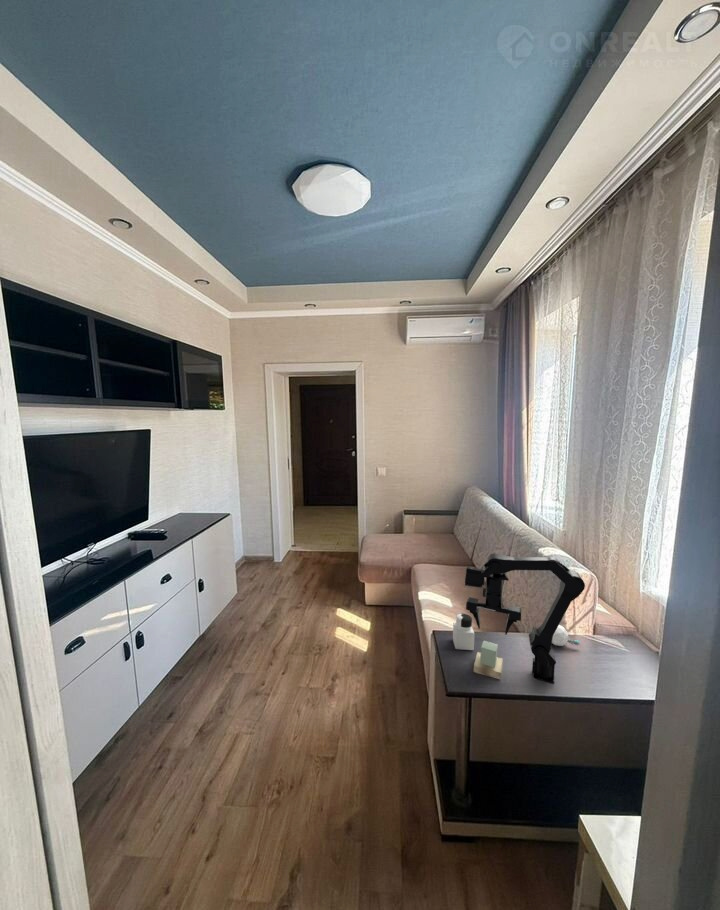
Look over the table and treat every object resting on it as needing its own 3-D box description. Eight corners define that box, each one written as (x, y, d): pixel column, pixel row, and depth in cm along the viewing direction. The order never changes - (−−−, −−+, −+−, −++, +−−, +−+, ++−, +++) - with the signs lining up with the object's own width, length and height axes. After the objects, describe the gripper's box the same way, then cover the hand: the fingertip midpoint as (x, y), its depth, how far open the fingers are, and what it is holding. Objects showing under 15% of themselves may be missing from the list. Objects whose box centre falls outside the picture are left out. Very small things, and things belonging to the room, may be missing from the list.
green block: (496, 660, 134) (497, 644, 133) (494, 668, 129) (495, 651, 129) (482, 656, 136) (483, 640, 136) (480, 663, 132) (481, 647, 131)
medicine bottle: (470, 640, 151) (471, 612, 150) (473, 650, 144) (475, 621, 143) (452, 639, 151) (453, 611, 151) (455, 649, 144) (456, 619, 144)
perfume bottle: (545, 626, 157) (578, 637, 151) (543, 644, 151) (576, 656, 146) (548, 617, 152) (582, 628, 146) (546, 635, 146) (581, 648, 141)
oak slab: (502, 666, 135) (502, 658, 135) (500, 681, 127) (500, 672, 127) (477, 659, 139) (477, 651, 139) (473, 673, 131) (473, 665, 130)
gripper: (522, 586, 137) (520, 626, 138) (470, 577, 145) (469, 615, 146) (522, 598, 127) (519, 641, 128) (466, 587, 135) (464, 629, 136)
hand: (492, 631), depth 135 cm, fingers open, 9 cm apart
